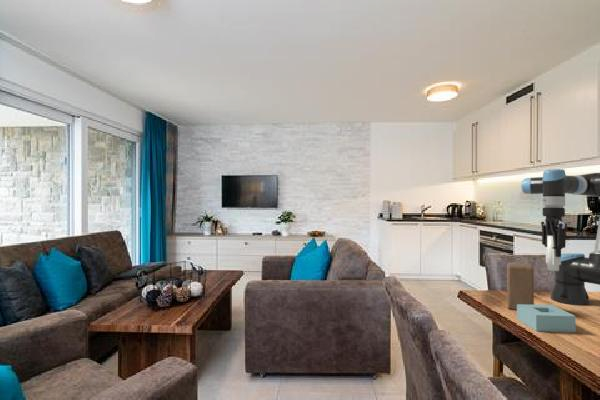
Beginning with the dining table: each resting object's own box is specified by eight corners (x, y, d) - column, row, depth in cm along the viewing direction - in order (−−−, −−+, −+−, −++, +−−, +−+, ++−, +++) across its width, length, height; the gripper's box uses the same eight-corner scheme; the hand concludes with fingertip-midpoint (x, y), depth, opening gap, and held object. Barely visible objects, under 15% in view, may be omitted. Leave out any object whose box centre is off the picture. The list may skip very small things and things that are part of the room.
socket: (552, 319, 146) (552, 305, 146) (575, 332, 132) (575, 316, 132) (517, 318, 147) (516, 304, 147) (536, 331, 133) (536, 315, 133)
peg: (555, 269, 146) (555, 235, 147) (561, 271, 142) (561, 236, 143) (544, 269, 147) (545, 235, 147) (550, 270, 143) (551, 236, 143)
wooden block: (533, 312, 154) (533, 267, 154) (507, 309, 160) (507, 265, 160) (533, 306, 163) (532, 263, 163) (508, 303, 168) (507, 262, 168)
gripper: (532, 206, 154) (531, 260, 154) (556, 207, 137) (556, 267, 137) (550, 207, 153) (550, 260, 153) (577, 207, 136) (577, 267, 136)
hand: (553, 263), depth 145 cm, fingers closed on peg, 4 cm apart
